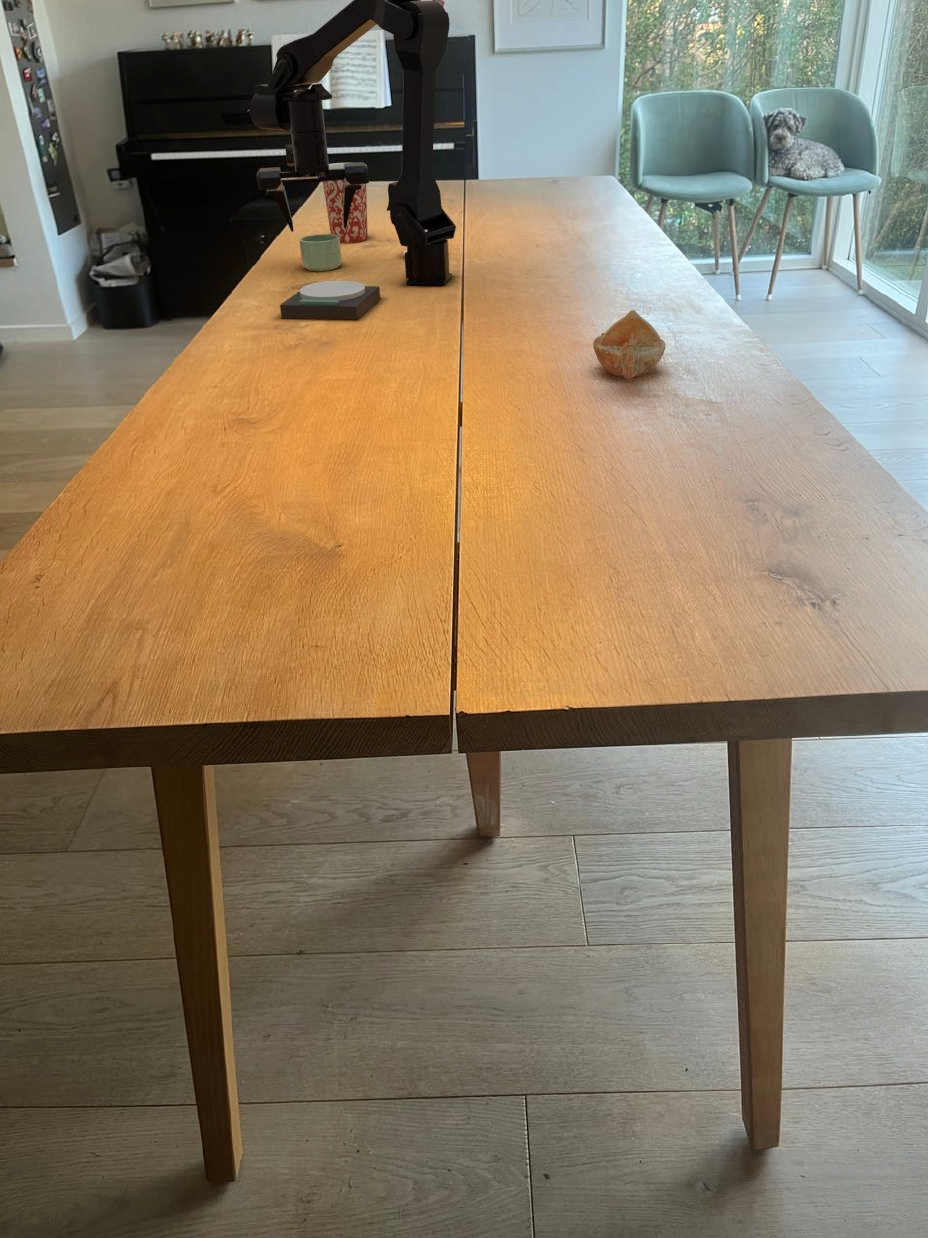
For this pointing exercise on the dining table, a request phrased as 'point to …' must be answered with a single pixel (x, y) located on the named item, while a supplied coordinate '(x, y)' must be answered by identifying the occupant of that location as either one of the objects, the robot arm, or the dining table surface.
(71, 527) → the dining table surface
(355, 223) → the mug
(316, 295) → the scale
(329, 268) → the bowl
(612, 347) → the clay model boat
